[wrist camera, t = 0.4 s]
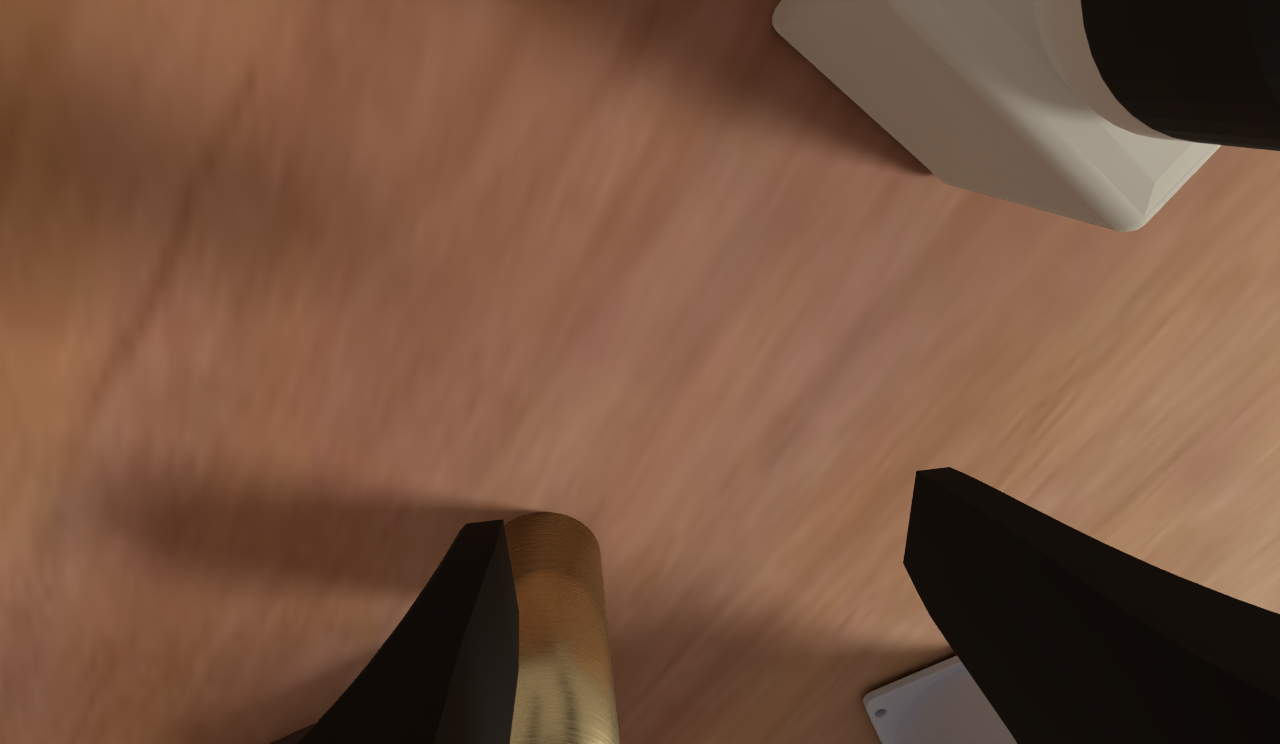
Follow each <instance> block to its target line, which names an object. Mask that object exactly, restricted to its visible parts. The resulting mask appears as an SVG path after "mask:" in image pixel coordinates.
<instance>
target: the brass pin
mask: <svg viewBox="0 0 1280 744" xmlns="http://www.w3.org/2000/svg"><path fill="white" fill-rule="evenodd" d="M504 528H505V534H506V539H507V545H508V551H509V557H510V562H511V568H512V574H513V579H514V585H515V591H516V597H517V602H518V608H519V672H518V680H517V689H516V697H515V705H514V713H513V721H512V729H511V737H510V744H620V740H619V730H618V720H617V710H616V701H615V691H614V681H613V671H612V661H611V652H610V642H609V632H608V622H607V612H606V602H605V593H604V583H603V573H602V563H601V553H600V547H599V544H598V541H597V540H596V538H595V536H594V535H593V533H592V532H591V531H590V530H589V529H588V528H587V527H586V526H585V525H584V524H582V523H581V522H579V521H577V520H576V519H574V518H571V517H569V516H565V515H562V514H557V513H534V514H529V515H525V516H522V517H519V518H517V519H515V520H513V521H511V522H509V523H508V524H506V525H505V526H504Z"/></svg>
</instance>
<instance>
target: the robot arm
mask: <svg viewBox="0 0 1280 744" xmlns="http://www.w3.org/2000/svg"><path fill="white" fill-rule="evenodd" d="M903 563H904V565H905V568H906V570H907V572H908V574H909V576H910V578H911V580H912V582H913V584H914V586H915V588H916V590H917V592H918V594H919V596H920V598H921V600H922V602H923V603H924V605H925V607H926V609H927V611H928V613H929V615H930V616H931V618H932V619H933V621H934V622H935V624H936V625H937V627H938V628H939V630H940V631H941V633H942V634H943V636H944V637H945V639H946V640H947V642H948V643H949V645H950V646H951V648H952V649H953V650H954V652H955V653H956V656H954V657H952V658H949V659H947V660H944V661H942V662H940V663H937V664H935V665H933V666H930V667H928V668H926V669H923V670H921V671H918V672H916V673H914V674H911V675H909V676H907V677H904V678H902V679H900V680H897V681H895V682H892V683H890V684H888V685H885V686H883V687H881V688H878V689H876V690H874V691H871V692H869V693H868V694H866V696H865V697H864V699H863V704H864V706H865V709H866V711H867V713H868V715H869V717H870V719H871V722H872V724H873V726H874V728H875V730H876V732H877V734H878V737H879V739H880V741H881V743H882V744H1280V614H1278V613H1274V612H1271V611H1269V610H1266V609H1263V608H1260V607H1257V606H1255V605H1252V604H1249V603H1246V602H1243V601H1241V600H1238V599H1235V598H1233V597H1230V596H1227V595H1225V594H1222V593H1220V592H1217V591H1215V590H1212V589H1209V588H1207V587H1204V586H1202V585H1199V584H1197V583H1194V582H1192V581H1189V580H1186V579H1184V578H1181V577H1179V576H1177V575H1174V574H1172V573H1169V572H1167V571H1165V570H1162V569H1160V568H1158V567H1155V566H1153V565H1151V564H1148V563H1146V562H1144V561H1142V560H1140V559H1137V558H1135V557H1133V556H1131V555H1129V554H1126V553H1124V552H1122V551H1120V550H1118V549H1115V548H1113V547H1111V546H1109V545H1107V544H1105V543H1102V542H1100V541H1098V540H1096V539H1094V538H1092V537H1090V536H1088V535H1086V534H1084V533H1082V532H1080V531H1078V530H1076V529H1074V528H1072V527H1069V526H1067V525H1065V524H1063V523H1061V522H1060V521H1058V520H1056V519H1054V518H1052V517H1050V516H1048V515H1046V514H1044V513H1042V512H1040V511H1038V510H1036V509H1034V508H1032V507H1030V506H1028V505H1026V504H1024V503H1022V502H1020V501H1018V500H1016V499H1014V498H1013V497H1011V496H1009V495H1007V494H1005V493H1003V492H1001V491H999V490H997V489H995V488H993V487H991V486H989V485H987V484H985V483H983V482H981V481H979V480H977V479H975V478H973V477H971V476H969V475H966V474H964V473H962V472H960V471H957V470H955V469H953V468H950V467H947V468H938V469H930V470H921V471H916V477H915V484H914V491H913V498H912V505H911V512H910V519H909V526H908V533H907V540H906V547H905V554H904V561H903ZM518 672H519V608H518V602H517V597H516V591H515V585H514V579H513V574H512V568H511V562H510V557H509V551H508V545H507V539H506V534H505V528H504V522H503V520H494V521H486V522H477V523H469V524H466V525H465V526H464V527H463V528H462V529H461V530H460V532H459V533H458V535H457V537H456V538H455V540H454V542H453V543H452V545H451V547H450V548H449V550H448V552H447V553H446V555H445V556H444V558H443V560H442V561H441V563H440V564H439V566H438V568H437V569H436V571H435V572H434V574H433V575H432V577H431V578H430V580H429V581H428V583H427V584H426V586H425V587H424V589H423V590H422V592H421V593H420V595H419V596H418V597H417V599H416V600H415V602H414V603H413V605H412V606H411V608H410V609H409V610H408V612H407V613H406V615H405V616H404V618H403V619H402V620H401V622H400V623H399V625H398V626H397V627H396V628H395V630H394V631H393V632H392V634H391V635H390V636H389V638H388V639H387V640H386V641H385V643H384V644H383V645H382V647H381V648H380V649H379V650H378V652H377V653H376V654H375V656H374V657H373V658H372V660H371V661H370V662H369V663H368V665H367V666H366V667H365V668H364V670H363V671H362V672H361V673H360V674H359V676H358V677H357V678H356V679H355V680H354V682H353V683H352V684H351V685H350V686H349V687H348V689H347V690H346V691H345V692H344V693H343V694H342V695H341V697H340V698H339V699H338V700H337V701H336V702H335V703H334V704H333V706H332V707H331V708H330V709H329V710H328V711H327V712H326V713H325V714H324V715H323V717H322V718H321V719H320V720H319V721H318V722H317V723H316V724H315V725H314V726H313V727H312V728H311V729H310V730H309V731H308V732H307V733H306V734H305V735H304V737H303V738H302V739H301V740H300V741H299V742H298V743H297V744H510V737H511V729H512V721H513V713H514V705H515V697H516V689H517V680H518Z"/></svg>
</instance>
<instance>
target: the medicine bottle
mask: <svg viewBox="0 0 1280 744" xmlns="http://www.w3.org/2000/svg"><path fill="white" fill-rule="evenodd" d="M772 25H773V27H774V28H775V30H776V31H777V33H779V34H780V35H781V36H782V37H783V38H784V39H785V40H786V41H787V42H788V43H790V44H791V45H792V46H793V47H794V48H795V49H796V50H797V51H798V52H800V53H801V54H802V55H803V56H804V57H805V58H806V59H807V60H808V61H809V62H811V63H812V64H813V65H814V66H815V67H816V68H817V69H818V70H819V71H821V72H822V73H823V74H824V75H825V76H826V77H827V78H828V79H829V80H830V81H832V82H833V83H834V84H835V85H836V86H837V87H838V88H839V89H840V90H842V91H843V92H844V93H845V94H846V95H847V96H848V97H849V98H850V99H851V100H853V101H854V102H855V103H856V104H857V105H858V106H859V107H860V108H861V109H863V110H864V111H865V112H866V113H867V114H868V115H869V116H870V117H871V118H872V119H874V120H875V121H876V122H877V123H878V124H879V125H880V126H881V127H882V128H884V129H885V130H886V131H887V132H888V133H889V134H890V135H891V136H892V137H893V138H895V139H896V140H897V141H898V142H899V143H900V144H901V145H902V146H903V147H905V148H906V149H907V150H908V151H909V152H910V153H911V154H912V155H913V156H914V157H916V158H917V159H918V160H919V161H920V162H921V163H922V164H923V165H924V166H926V167H927V168H928V169H929V170H930V171H931V172H932V173H933V174H934V175H935V176H937V177H938V178H939V179H940V180H941V181H942V182H944V183H946V184H948V185H951V186H955V187H959V188H962V189H966V190H970V191H973V192H977V193H981V194H984V195H988V196H992V197H995V198H999V199H1003V200H1006V201H1010V202H1014V203H1017V204H1021V205H1025V206H1028V207H1032V208H1036V209H1039V210H1043V211H1046V212H1050V213H1054V214H1057V215H1061V216H1065V217H1068V218H1072V219H1076V220H1079V221H1083V222H1087V223H1090V224H1094V225H1098V226H1101V227H1105V228H1109V229H1112V230H1116V231H1120V232H1126V231H1134V230H1138V229H1139V228H1141V227H1142V226H1144V225H1145V224H1146V223H1147V222H1148V221H1149V220H1150V219H1151V218H1152V217H1153V216H1154V215H1155V214H1156V213H1157V212H1158V211H1159V210H1160V209H1161V207H1162V206H1163V205H1164V204H1165V203H1166V202H1167V201H1168V200H1169V199H1170V198H1171V197H1172V196H1173V195H1174V194H1175V193H1176V192H1177V191H1178V190H1179V189H1180V188H1181V187H1182V186H1183V185H1184V184H1185V183H1186V182H1187V180H1188V179H1189V178H1190V177H1191V176H1192V175H1193V174H1194V173H1195V172H1196V171H1197V170H1198V169H1199V168H1200V167H1201V166H1202V165H1203V164H1204V163H1205V162H1206V161H1207V160H1208V159H1209V158H1210V157H1211V156H1212V155H1213V153H1214V152H1215V151H1216V150H1217V149H1218V148H1219V147H1220V146H1221V145H1225V146H1235V147H1245V148H1255V149H1265V150H1275V151H1280V0H781V1H780V3H779V4H778V6H777V7H776V8H775V11H774V13H773V16H772Z"/></svg>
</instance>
